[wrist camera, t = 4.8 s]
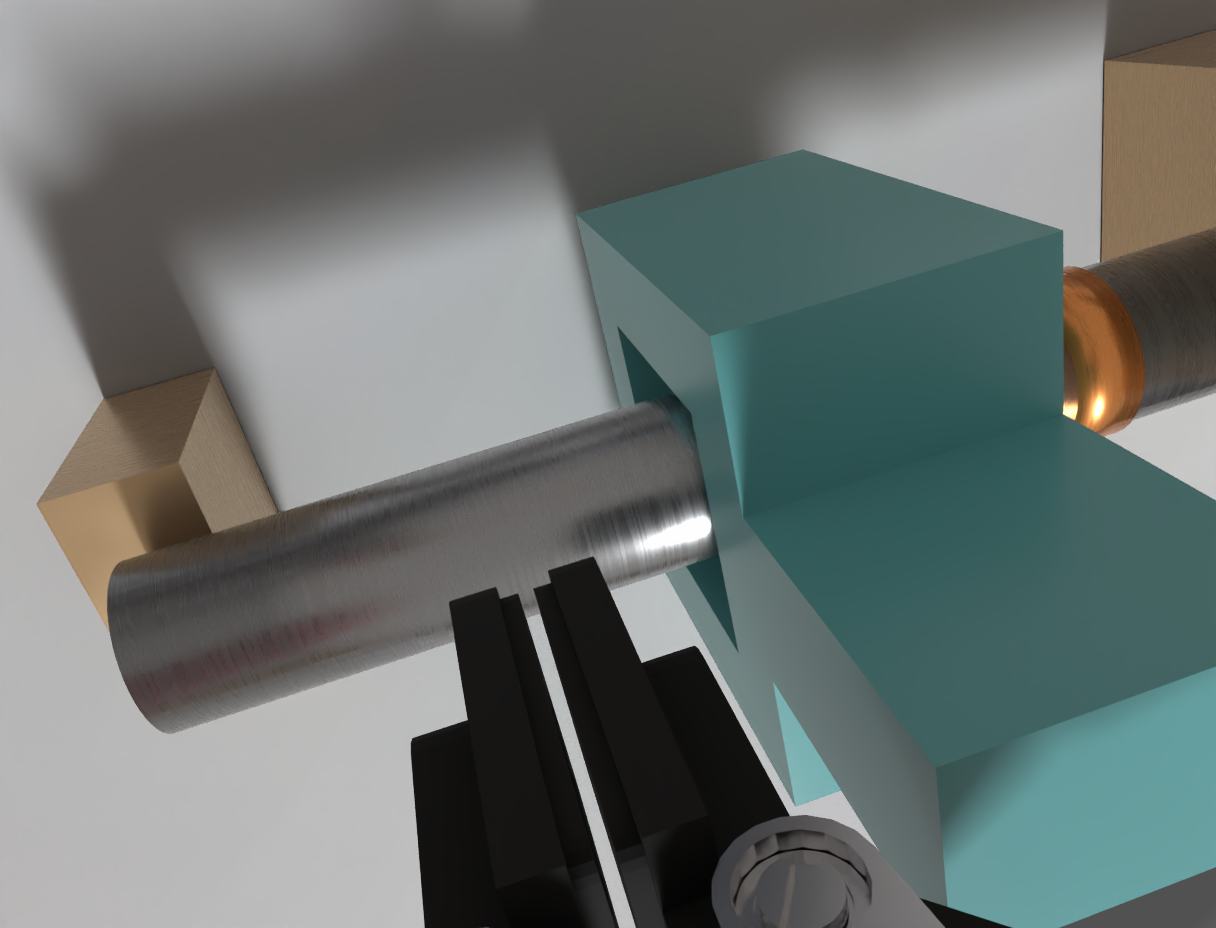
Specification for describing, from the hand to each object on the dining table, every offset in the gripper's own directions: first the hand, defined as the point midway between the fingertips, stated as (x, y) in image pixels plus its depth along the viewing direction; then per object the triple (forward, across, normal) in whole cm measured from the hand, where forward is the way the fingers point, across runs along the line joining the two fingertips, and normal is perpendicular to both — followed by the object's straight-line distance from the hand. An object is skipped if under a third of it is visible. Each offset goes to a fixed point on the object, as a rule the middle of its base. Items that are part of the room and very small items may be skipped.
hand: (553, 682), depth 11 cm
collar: (+7, -5, 0) cm, 8 cm away
